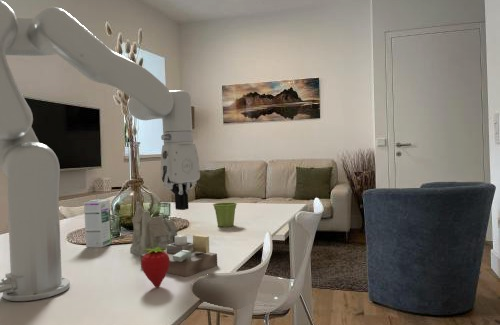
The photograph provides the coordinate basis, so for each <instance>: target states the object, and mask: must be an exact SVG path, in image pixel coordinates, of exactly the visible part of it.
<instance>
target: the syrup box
mask: <svg viewBox="0 0 500 325" xmlns="http://www.w3.org/2000/svg"><path fill="white" fill-rule="evenodd" d="M110 202H111V201H110V199H106V198H101V199H99V198H98V199H93V200H89V201H84V202H83V209H84V210H83V211H84V230H85V244H86V246H85V247H86V248H97V249H98V248H101V249H102V248H104V247H106V246H108V245H112V243H113V240H112V238H113V237H112V236H113V235H112V221H111V219H112V217H111V203H110Z"/></svg>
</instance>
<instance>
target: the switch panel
mask: <svg viewBox="0 0 500 325" xmlns="http://www.w3.org/2000/svg"><path fill="white" fill-rule="evenodd" d="M182 250H187V251H191V254H192V256H191V257H186V259H185V260H184V261H182V262H179V261H174V260H173V255H175V254H176V253H178V252H180V251H182ZM163 251H164V252H165V253H167V255H168V256H169V260H170V263H169V268H168V271H167V273H166V274H172V275H176V276H180V277H189V276H194V275H195V274H198V273H201V272H204V271H206V270H208V269H212V268H215V267H217V266H218V253H216V252H215V253H214V252H210V251H209V252H208V253H202V252H196V251H193V242H188V241H187V245H185V246H182V247H179V246H175V243H173V244H169V245H167V249H166V248H165V250H163ZM144 255H145V254H143V255H141V256H140V267H141V268H142V265H141V263H142V258H143V256H144Z"/></svg>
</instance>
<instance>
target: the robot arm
mask: <svg viewBox="0 0 500 325" xmlns="http://www.w3.org/2000/svg"><path fill="white" fill-rule="evenodd" d="M53 55H57V56H59V57H60V58H62V59H63V60H64V61H65V62H67V63H68V64H69V65H70V66H72V67H73V68H74V69H75V70H77V71H78V72H79V73H80V74H81V75H83V76H85V78H87V79H88V80H90V81H93V82H96V83H99V84H103V85H108V86H111V87H114V88H116V89H118V90H119V91H122V92H123V93H125V94H127V95H128V96H130V98H129V99H128V102H127V103H128V104H127V106H128V111H129V113H130V114H131V116H132V117H134V118H135V119H138V120H140V121H151V120H159V119H161V120H162V135H161V136H160V138H161V140H162V141H163V145H162V146H161V155H160V175H161V176H160V177H161V182H163V188H164V189H166V190H170V191H171V193H172V194H173V195H174V203H175V204H174V205H175V206H174V208H175V210H177V211H184V210H189V194H190V192H191V189H192V187H194V186H195V185H197V183H198V182H197V181H199V180H200V178H201V170H200V160H199V155H198V150H197V146H196V144H195V143H194V139H193V138H194V137H193V136H194V135H193V119H192V117H193V116H192V101H191V100H192V99H191V94H190V93H189V91H186V90H181V89H179V90H176V89H175V90H169V88H168V87H167V86H166V85H165V84H164V83H163V82H162V81H161V80H159V79H158V78H157V77H156V76H155V75H154V74H153V73H151V72H150V71H149V70H147V69H146V68H145V67H143V66H142V65H140V64H138V63H137V62H135V61H133V60H130V59H129V58H126V56H124V55H121V54H119V53H118V52H116V51H114V50H112V49H111V48H110V47H109V46H107V45H106V44H105V43H104V42H103V41H102V40H100V39H99V38H98V37H97V36H96V35H94V33H92V32H91V31H90V30H88V28H86V27H85V26H84V25H83V24H81V23H80V22H79V21H78V20H77V19H76V18H75V17H73V16H72V15H71V14H70V13H69V12H67V11H66V10H64V9H62V8H60V7H56V6H48V7H45V8H43V9H41V10H39V12H38V13H37V14H36V15H34V17H33V18H32V17H30V18H28V17H27V18H24V17H17V15H16V14H15V11H14V9H12V8H11V6H9V4H7V3H6V2H5V1H3V0H0V169H1V171H2V173H3V174H4V176H5V177H6V178H7V221H8V242H9V262H10V263H9V264H10V265H9V266H10V272H9V273H8V272H7V273H5V276H4V278H2V279H0V294H1V293H2V297H3V299H4V300H7V301H11V302H29V301H38V300H42V299H46V298H51V297H53V296H57V295H59V294H62V293H64V292H65V291H68V289H69V288H70V287H71V282H70V279H68V278H66V277H62V276H63V275H62V256H61V255H62V253H61V252H62V249H61V227H60V226H61V225H60V203H59V202H60V201H59V199H60V197H59V196H60V195H59V194H60V190H59V189H60V179H61V178H60V176H61V175H60V174H61V171H60V170H61V168H60V162H59V158H58V156H57V155H56V153H55V152H54V150H53V149H52V148H50V147H49V146H48V145H47V144H44V143H42V142H40V141H39V139H38V136H36V133H35V131H34V129H33V127H32V125H33V122H34V117H33V112H32V109H31V107H30V105H29V104H28V103H27V101H26V99H25V97H24V95H23V93H22V92H21V89H20V88H19V86H18V83H17V82H16V79H15V78H14V75H13V72H12V71H11V70H12V69H11V68H10V66H9V63H8V58H7V56H28V57H29V56H30V57H32V56H33V57H35V56H36V57H38V56H39V57H40V56H41V57H43V56H53Z"/></svg>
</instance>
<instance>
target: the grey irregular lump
mask: <svg viewBox="0 0 500 325" xmlns="http://www.w3.org/2000/svg"><path fill="white" fill-rule="evenodd" d="M135 206H136V207H135V214H134V216H133V217H132V218H131V222H132V227H133V231H132V244H131V246H130V248H129V252H130V254H133V255H136V256H139V257H141V255H143V254H147V253H148V252H150V251H142V250H145V249H154V250H155V248H157V247H159V248H160V249H165V248H167V245H169V244H173V243H175V236H177V235H178V232H177V230H178V227H177V226H176V223H175V221H174V220H167V219H164V215H162V214H160V215H159V216H153V217H152V215H150V211H149V210H146V209H143V206H142V205H141V202H140V201H136V202H135ZM152 241H153V242H154V243H155V244H156V245H157V246H156V245H155V244H154V243H153V242H152Z"/></svg>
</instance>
